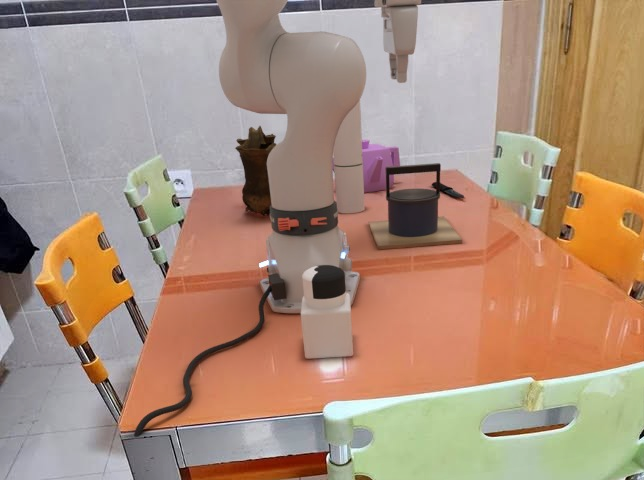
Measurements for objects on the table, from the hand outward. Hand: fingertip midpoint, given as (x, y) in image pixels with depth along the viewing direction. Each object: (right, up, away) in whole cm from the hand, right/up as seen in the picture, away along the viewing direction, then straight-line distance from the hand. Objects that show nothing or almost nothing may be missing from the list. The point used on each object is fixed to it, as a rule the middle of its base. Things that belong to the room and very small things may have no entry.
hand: (398, 80), depth 130 cm
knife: (+17, -2, +46) cm, 49 cm away
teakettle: (-6, +4, +57) cm, 57 cm away
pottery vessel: (-32, -10, +39) cm, 52 cm away
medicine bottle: (-12, -60, -32) cm, 69 cm away
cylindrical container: (-10, -11, +37) cm, 40 cm away
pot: (+4, -24, +16) cm, 29 cm away
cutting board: (+4, -24, +16) cm, 30 cm away
